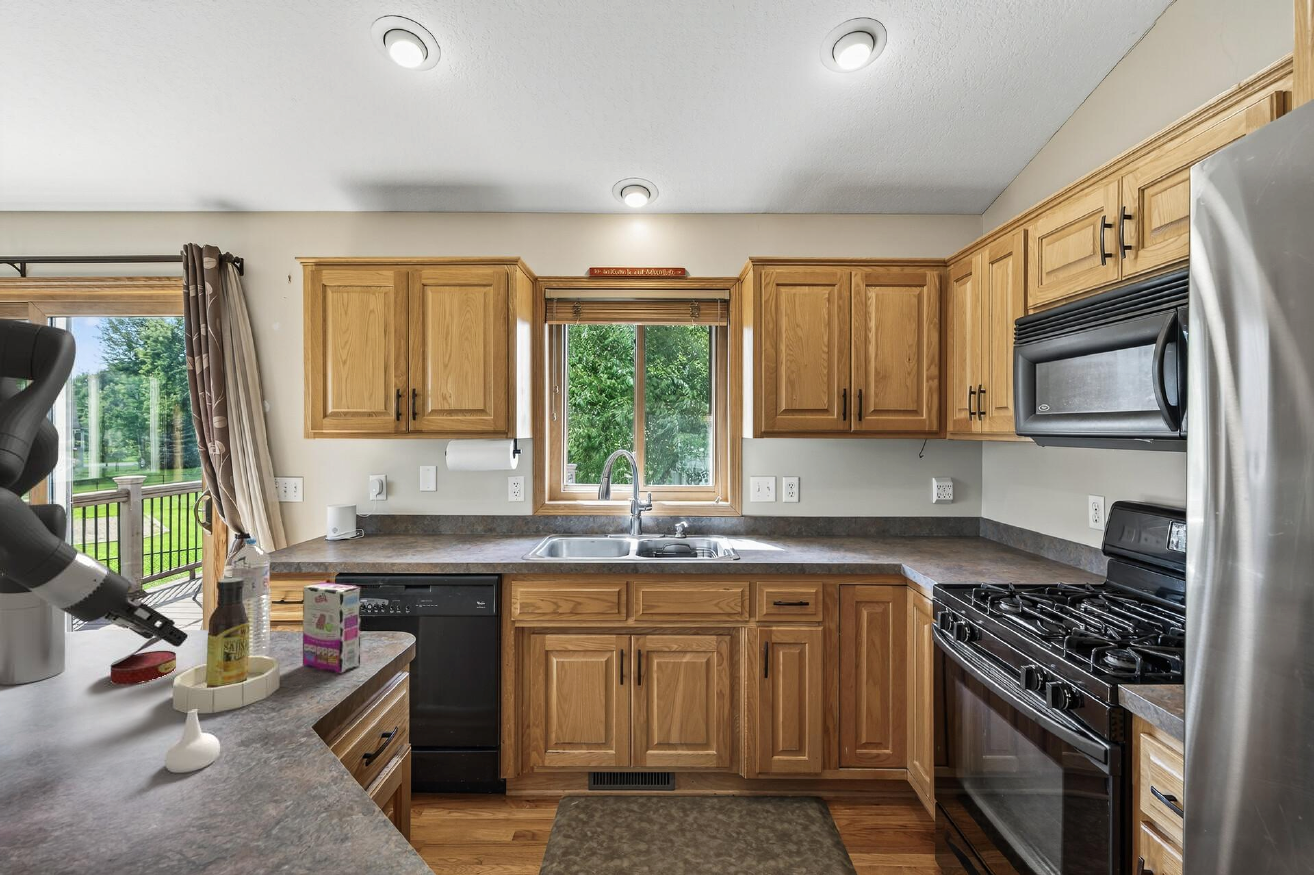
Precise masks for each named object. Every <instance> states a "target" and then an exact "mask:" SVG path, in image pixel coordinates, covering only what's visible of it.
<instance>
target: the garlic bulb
mask: <svg viewBox="0 0 1314 875" xmlns="http://www.w3.org/2000/svg"><path fill="white" fill-rule="evenodd" d="M197 710H198V709H192V710H191V711H190V712H187V716H186V719H185V726H184V732H183V734H182V737H181V739H179V740H177V741H176V742H175V743H173V745H171V747H170V748H169V749H168V751H167V753H166V755H165V760H164V764H165V767H166V769H167V770H168V771H169V772H171V773H176V774H183V773H191V772H195V771H198V770H201V769H204V768H205V767H207V766H209V765H211V764H212V763H214V762H215V761H216V759H217V758H218V757H219V755H220V752H221V744H220V740H219V739H218V738H217V737H216V736H215V735H213V734H211V733H207V732H202V729H201V725H200V722H199V717H198V713H197Z"/></svg>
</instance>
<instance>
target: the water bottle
mask: <svg viewBox="0 0 1314 875" xmlns="http://www.w3.org/2000/svg"><path fill="white" fill-rule="evenodd" d="M245 545H246V546H245V547H243V548H242V549H240V550H239V551H238V552H237V553H236V554H235V555H234V556H233V558H232V559H231V569H232V571H231V572H232V573H231V574H232V575H231V576H232V577H231V578H243V579H244V586H243V591H242V599H243V605H244V609H245V612H246V615H247V618H248V620H249V622H250V626H249V628H250V629H249V656H268V655H269V652H270V649H271V647H270V646H271V639H270V638H271V627H270V626H271V606H270V605H271V592H270V564H271V557H270V555H269V554H268V553H267V551H265V549H263V548H262V547H260V546H258V545H257V538H246V539H245Z"/></svg>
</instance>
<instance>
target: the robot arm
mask: <svg viewBox="0 0 1314 875" xmlns="http://www.w3.org/2000/svg"><path fill="white" fill-rule="evenodd" d="M76 353H77V346H76V338H75V337H74V335H73V333H71V331H68V330H66V329H63V328H60V327H55V326H50V325H45V324H44V325H43V324H39V323H32V322H27V321H21V320H15V319H9V318H1V317H0V574H1V575H0V685H2V686H4V685H5V686H6V685H7V686H9V685H11V686H12V685H21V684H28V683H33V682H37V681H41V680H45V679H49V678H51V677H54V676H56V675H58V674H61V673H62V672H64V671H65V669H66V613H67V614H68V615H69V616H72V617H74V618H75V619H77V620H80V621H81V622H83V623H89V622H94V621H97V620H99V619H101V618H102V619H104V621H107V622H110V623H111V624H112V625H114V626H116V627H119V628H123V629H127V630H128V629H129V630H130V631H132V632H134V633H136V634H137V635H138V636H140V637H142V638H145V639H147V640H150V639H151V638H155V637H160V638H161V639H162V640H163V641H165V642H166V643H168V644H170V645H171V646H174V647H176V648H177V647H178V648H179V647H180V646H181V645H182V644H183V643H184V642H185V641H186V640H187V639H188V636H189V635H188V634H187V633H186V632H184V631H182V630H181V629H179V627H177V626H174V625H175V623H176V622H175V621H174V620H173V619H170V618H168V617H166V615H164V614H162V613H160V612H159V611H157V610H156V609H154V608H152V607H150V606H149V604H147V603H143V602H142V601H141V600H139V599H137V598H134V597H132V598H130V597H128V596H127V594H128V593H129V591H130V588H131V583H130V581H129V579H127V578H125V577H124V576H123V575H121V574H119V573H118V572H117V571H114V570H113V569H111V568H110V567H109V566H107V565H105V564H104V563H102V562H101V561H99V560H98V559H96V558H95V557H93V556H91V555H89V554H87V553H85V552H84V551H80V550H79V549H77V548H75V547H74V546H73V545H71V544H69V543H67V542H66V541H67V540H66V537H67V526H68V525H67V524H68V523H67V522H68V521H67V520H68V519H67V513H66V510H65V508H64V507H63V505H62V504H60V503H59V504H58V503H41V504H27V503H26V502H25V501H24V500H23V498H22V497H24V495H26V494H28V492H30V491H31V490H32V489H34V488H35V487H36V486H38V485H39V484H40V483H42V482H43V481H44V480H45V479H46V478H48V476H50V474H51V473H52V472H53V470H55V468H56V466H57V464H58V461H59V445H60V444H59V442H60V438H59V436H60V435H59V432H58V430H57V427H56V426H55V425H54V423H53V422H52V420H50V419H49V417H48V416H47V415H48V414H49V412H50V411H51V409H52V408H53V406H54V404H55V403H56V401H57V399H58V397H59V395H60V394H61V392H62V390H63V388H64V386H65V385H66V383H67V381H68V379H69V377H70V375H71V373H72V370H73V367H74V365H75V359H76ZM15 379H16V380H24V381H25V380H26V381H32V382H30V384H28V385H27V386H26V387H24V388H23V389H21V390H20V388H19V386H18V384H17V383H16V380H15ZM158 622H159V625H158V626H157V625H156V624H157V623H158Z"/></svg>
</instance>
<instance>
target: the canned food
mask: <svg viewBox="0 0 1314 875" xmlns="http://www.w3.org/2000/svg"><path fill="white" fill-rule="evenodd" d="M162 640H163V639H161V638H160V637H155V636H154V637H152V638H151V639H148V641H146V642H145V643H144V644H143V645H142V646H141V647H140V648H138V649H137V650H136V651H134V652H133V653H130V654H128V655H126V656H123V657H122V658H118V660H115V661H113V662H112V663H111V664H110V665H109V667H110V682H111V681H112V682H113V683H112V682H111V683H112V684H114V683H115V684H114V685H122V684H125V685H134V684H135V683H136V684H140V683H139V682H142V681H147V682H150V681H149V680H151V681H153V680H152V679H155V680H157V678H158V677H161V678H163V677H162V676H164V675H166V676H168V675H167V674H169V673H171V672H172V671H174V669H175V668H177V654H176V652H175V651H172V650H154V651H147V652H141V651H143V650H145V649H147V648H149V647H150V646H152V645H154V644H156V643H158V642H160V641H162ZM139 652H140V653H139ZM175 670H176V669H175ZM174 672H175V671H174ZM172 673H173V672H172ZM172 673H171V674H172ZM169 675H170V674H169ZM164 677H165V676H164ZM158 679H159V678H158ZM142 683H143V682H142ZM136 684H135V685H136Z"/></svg>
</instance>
